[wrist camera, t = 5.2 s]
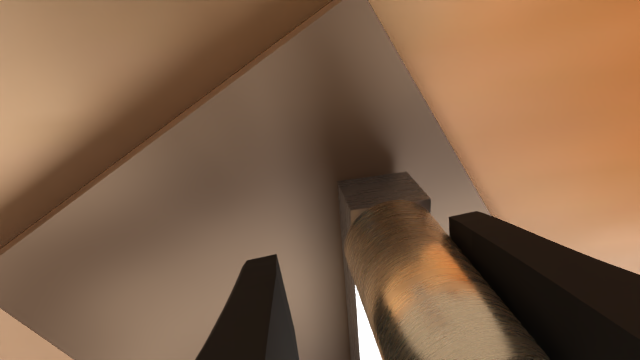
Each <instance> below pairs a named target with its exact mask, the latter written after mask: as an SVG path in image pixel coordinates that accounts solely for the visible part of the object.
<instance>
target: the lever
mask: <svg viewBox="0 0 640 360" xmlns="http://www.w3.org/2000/svg"><path fill="white" fill-rule="evenodd" d="M337 187H338V200H339V213H340V226H341V239H342V252H343V265H344V278H345V291H346V304H347V317H348V330H349V343H350V356H351V360H550V358H549V357H548V356H547V355H546V354H545V352H544V351H543V350H542V349H541V347H540V346H539V345H538V344H537V343H536V341H535V340H534V339H533V338H532V337H531V335H530V334H529V333H528V332H527V330H526V329H525V328H524V327H523V326H522V324H521V323H520V322H519V321H518V319H517V318H516V317H515V316H514V315H513V313H512V312H511V311H510V310H509V309H508V307H507V306H506V305H505V304H504V302H503V301H502V300H501V299H500V298H499V296H498V295H497V294H496V293H495V292H494V290H493V289H492V288H491V287H490V285H489V284H488V283H487V282H486V281H485V279H484V278H483V277H482V276H481V274H480V273H479V272H478V271H477V270H476V268H475V267H474V266H473V265H472V264H471V262H470V261H469V260H468V259H467V257H466V256H465V255H464V254H463V253H462V251H461V250H460V249H459V248H458V246H457V245H456V244H455V243H454V242H453V240H452V239H451V238H450V237H449V236H448V234H447V233H446V232H445V231H444V229H443V228H442V227H441V226H440V225H439V223H438V222H437V221H436V220H435V218H434V217H433V216H432V215H431V214H430V212H431V198H430V197H429V196H428V195H427V194H426V193H425V192H424V191H423V189H422V188H421V187H420V186H419V185H418V184H417V183H416V181H415V180H414V179H413V178H412V177H411V176H410V175H409V174H408V172H407V171H406V172H399V173H392V174H385V175H378V176H371V177H364V178H357V179H350V180H342V181H337Z"/></svg>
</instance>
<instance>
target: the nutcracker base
mask: <svg viewBox="0 0 640 360" xmlns="http://www.w3.org/2000/svg"><path fill="white" fill-rule="evenodd" d="M406 171H407V172H408V174H409V175H410V176H411V177H412V178H413V179H414V180H415V181H416V183H417V184H418V185H419V186H420V187H421V188H422V189H423V191H424V192H425V193H426V194H427V195H428V196H429V197H430V198H431V212H430V214H431V215H432V216H433V217H434V218H435V220H436V221H437V222H438V223H439V225H440V226H441V227H442V228H443V229H444V231H445V232H446V233H447V234H448V236H449V217H451V216H455V215H460V214H465V213H469V212H474V211H479V212H482V213H485V214H487V215H490V213H489V211H488V209H487V208H486V206H485V204H484V202H483V201H482V199H481V197H480V195H479V194H478V192H477V190H476V188H475V187H474V185H473V183H472V181H471V180H470V178H469V176H468V174H467V173H466V171H465V169H464V167H463V166H462V164H461V162H460V160H459V159H458V157H457V155H456V153H455V152H454V150H453V148H452V146H451V145H450V143H449V141H448V139H447V138H446V136H445V134H444V132H443V131H442V129H441V127H440V125H439V124H438V122H437V120H436V118H435V117H434V115H433V113H432V112H431V110H430V108H429V106H428V105H427V103H426V101H425V99H424V98H423V96H422V94H421V92H420V91H419V89H418V87H417V85H416V84H415V82H414V80H413V78H412V77H411V75H410V73H409V71H408V70H407V68H406V66H405V64H404V63H403V61H402V59H401V57H400V56H399V54H398V52H397V50H396V49H395V47H394V45H393V43H392V42H391V40H390V38H389V36H388V35H387V33H386V31H385V29H384V28H383V26H382V24H381V22H380V21H379V19H378V17H377V15H376V14H375V12H374V10H373V8H372V7H371V5H370V3H369V1H368V0H332V1H331V2H330V3H328V4H327V5H326V6H324V7H323V8H322V9H320V10H319V11H318V12H316V13H315V14H314V15H312V16H311V17H310V18H308V19H307V20H306V21H304V22H303V23H302V24H300V25H299V26H298V27H296V28H295V29H294V30H292V31H291V32H290V33H288V34H287V35H286V36H284V37H283V38H282V39H280V40H279V41H278V42H276V43H275V44H274V45H272V46H271V47H270V48H268V49H267V50H266V51H264V52H263V53H262V54H260V55H259V56H258V57H256V58H255V59H254V60H252V61H251V62H250V63H248V64H247V65H246V66H244V67H243V68H242V69H240V70H239V71H238V72H236V73H235V74H234V75H232V76H231V77H230V78H228V79H227V80H226V81H224V82H223V83H222V84H220V85H219V86H217V87H216V88H215V89H213V90H212V91H211V92H209V93H208V94H207V95H205V96H204V97H203V98H201V99H200V100H199V101H197V102H196V103H195V104H193V105H192V106H191V107H189V108H188V109H187V110H185V111H184V112H183V113H181V114H180V115H179V116H177V117H176V118H175V119H173V120H172V121H171V122H169V123H168V124H167V125H165V126H164V127H163V128H161V129H160V130H159V131H157V132H156V133H155V134H153V135H152V136H151V137H149V138H148V139H147V140H145V141H144V142H143V143H141V144H140V145H139V146H137V147H136V148H135V149H133V150H132V151H131V152H129V153H128V154H127V155H125V156H124V157H123V158H121V159H120V160H119V161H117V162H116V163H115V164H113V165H112V166H111V167H109V168H108V169H107V170H105V171H104V172H103V173H101V174H100V175H99V176H97V177H96V178H95V179H93V180H92V181H91V182H89V183H88V184H87V185H85V186H84V187H83V188H81V189H80V190H79V191H77V192H76V193H75V194H73V195H72V196H71V197H69V198H68V199H67V200H65V201H64V202H63V203H61V204H60V205H59V206H57V207H56V208H55V209H53V210H52V211H51V212H49V213H48V214H47V215H45V216H44V217H43V218H41V219H40V220H39V221H37V222H36V223H34V224H33V225H32V226H30V227H29V228H28V229H26V230H25V231H24V232H22V233H21V234H20V235H18V236H17V237H16V238H14V239H13V240H12V241H10V242H9V243H8V244H6V245H5V246H4V247H2V248H1V249H0V308H1V309H2V310H4V311H5V312H7V313H8V314H10V315H11V316H12V317H14V318H15V319H17V320H18V321H20V322H21V323H22V324H24V325H25V326H27V327H28V328H30V329H31V330H32V331H34V332H35V333H37V334H38V335H40V336H41V337H42V338H44V339H45V340H47V341H48V342H50V343H51V344H52V345H54V346H55V347H57V348H58V349H60V350H61V351H62V352H64V353H65V354H67V355H68V356H70V357H71V358H72V359H74V360H195V359H196V357H197V356H198V354H199V352H200V351H201V349H202V347H203V346H204V344H205V342H206V340H207V338H208V337H209V335H210V333H211V331H212V329H213V327H214V325H215V323H216V321H217V320H218V318H219V316H220V314H221V312H222V310H223V308H224V306H225V304H226V302H227V300H228V298H229V296H230V294H231V292H232V289H233V287H234V285H235V283H236V281H237V278H238V276H239V274H240V271H241V269H242V266H243V265H244V264H245V262H246V261H247V260H251V259H255V258H260V257H265V256H269V255H274V254H277V258H278V262H279V266H280V270H281V274H282V279H283V283H284V287H285V291H286V296H287V300H288V304H289V308H290V312H291V317H292V321H293V325H294V329H295V335H296V341H297V348H298V354H299V360H351V356H350V343H349V330H348V317H347V304H346V291H345V278H344V265H343V252H342V239H341V226H340V213H339V200H338V187H337V181H342V180H350V179H357V178H364V177H371V176H378V175H385V174H392V173H399V172H406ZM490 216H491V215H490Z"/></svg>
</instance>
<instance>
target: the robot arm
mask: <svg viewBox="0 0 640 360" xmlns="http://www.w3.org/2000/svg"><path fill="white" fill-rule="evenodd" d="M449 237H450V238H451V239H452V240H453V242H454V243H455V244H456V245H457V246H458V248H459V249H460V250H461V251H462V253H463V254H464V255H465V256H466V257H467V259H468V260H469V261H470V262H471V264H472V265H473V266H474V267H475V268H476V270H477V271H478V272H479V273H480V274H481V276H482V277H483V278H484V279H485V281H486V282H487V283H488V284H489V285H490V287H491V288H492V289H493V290H494V292H495V293H496V294H497V295H498V296H499V298H500V299H501V300H502V301H503V302H504V304H505V305H506V306H507V307H508V309H509V310H510V311H511V312H512V313H513V315H514V316H515V317H516V318H517V319H518V321H519V322H520V323H521V324H522V326H523V327H524V328H525V329H526V330H527V332H528V333H529V334H530V335H531V337H532V338H533V339H534V340H535V341H536V343H537V344H538V345H539V346H540V347H541V349H542V350H543V351H544V352H545V354H546V355H547V356H548V357H549V358H550V360H640V275H639V274H636V273H633V272H630V271H627V270H625V269H622V268H619V267H616V266H614V265H611V264H608V263H605V262H603V261H600V260H598V259H595V258H592V257H590V256H587V255H585V254H582V253H580V252H577V251H575V250H572V249H570V248H567V247H565V246H562V245H560V244H557V243H555V242H553V241H550V240H548V239H545V238H543V237H541V236H538V235H536V234H534V233H531V232H529V231H526V230H524V229H522V228H519V227H517V226H515V225H512V224H510V223H507V222H505V221H503V220H500V219H498V218H495V217H493V216H490V215H487V214H485V213H482V212H479V211H474V212H469V213H465V214H460V215H455V216H451V217H449ZM195 360H299V354H298V348H297V341H296V335H295V329H294V325H293V321H292V317H291V312H290V308H289V304H288V300H287V296H286V291H285V287H284V283H283V279H282V274H281V270H280V266H279V262H278V258H277V254H274V255H269V256H265V257H260V258H255V259H251V260H247V261H246V262H245V264H244V265H243V266H242V269H241V271H240V274H239V276H238V278H237V281H236V283H235V285H234V287H233V289H232V292H231V294H230V296H229V298H228V300H227V302H226V304H225V306H224V308H223V310H222V312H221V314H220V316H219V318H218V320H217V321H216V323H215V325H214V327H213V329H212V331H211V333H210V335H209V337H208V338H207V340H206V342H205V344H204V346H203V347H202V349H201V351H200V352H199V354H198V356H197V357H196V359H195Z"/></svg>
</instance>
